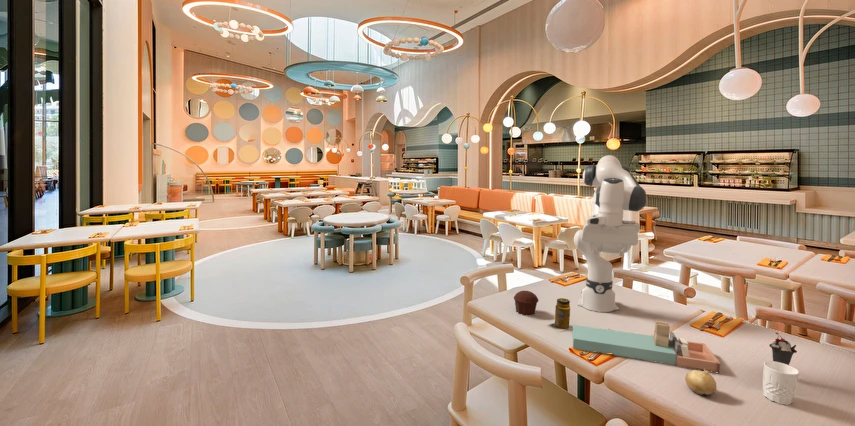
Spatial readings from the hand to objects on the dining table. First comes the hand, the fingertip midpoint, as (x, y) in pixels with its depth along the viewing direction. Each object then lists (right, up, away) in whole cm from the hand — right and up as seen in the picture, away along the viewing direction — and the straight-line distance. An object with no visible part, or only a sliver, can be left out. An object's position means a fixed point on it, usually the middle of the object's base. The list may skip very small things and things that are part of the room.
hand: (607, 254), depth 153 cm
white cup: (+35, -40, -36) cm, 64 cm away
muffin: (-25, -31, +32) cm, 51 cm away
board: (+3, -36, -4) cm, 36 cm away
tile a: (+23, -33, -9) cm, 41 cm away
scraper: (+17, -32, -10) cm, 38 cm away
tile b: (+20, -34, -15) cm, 42 cm away
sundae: (+47, -39, -23) cm, 65 cm away
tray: (+25, -37, -12) cm, 46 cm away
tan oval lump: (+14, -40, -32) cm, 53 cm away
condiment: (-14, -33, +15) cm, 39 cm away
